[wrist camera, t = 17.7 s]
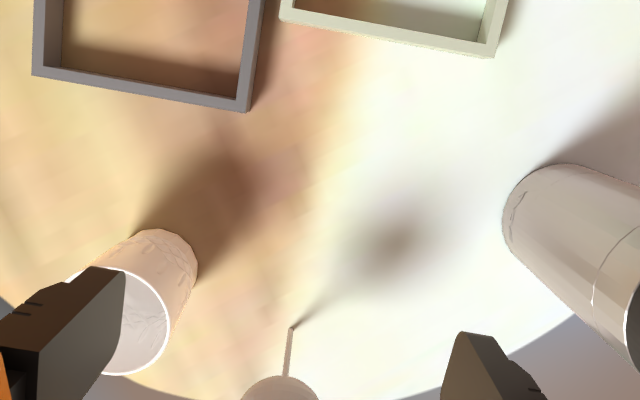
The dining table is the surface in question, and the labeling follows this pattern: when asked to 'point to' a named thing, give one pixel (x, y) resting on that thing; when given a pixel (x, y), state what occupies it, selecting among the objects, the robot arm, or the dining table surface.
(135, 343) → the white cup
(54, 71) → the gray frame
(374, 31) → the sage frame
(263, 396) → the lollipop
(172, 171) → the dining table surface
